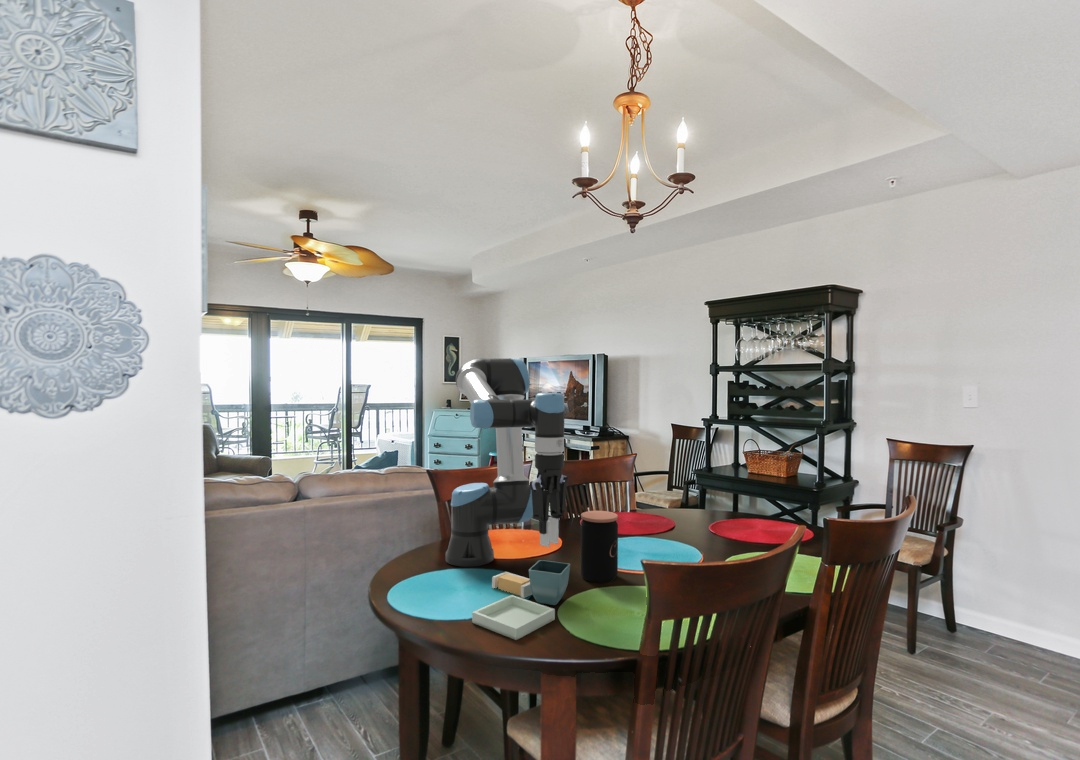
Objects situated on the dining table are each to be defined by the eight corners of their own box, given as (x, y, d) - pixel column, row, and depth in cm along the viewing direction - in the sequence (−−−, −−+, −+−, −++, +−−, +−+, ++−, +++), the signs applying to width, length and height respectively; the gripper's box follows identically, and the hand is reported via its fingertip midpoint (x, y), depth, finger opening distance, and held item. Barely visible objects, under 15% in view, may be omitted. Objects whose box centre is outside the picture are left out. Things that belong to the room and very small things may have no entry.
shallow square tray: (472, 622, 133) (472, 612, 133) (511, 604, 144) (511, 594, 144) (516, 640, 125) (516, 628, 125) (554, 619, 135) (554, 609, 135)
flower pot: (570, 597, 149) (571, 563, 149) (561, 610, 141) (561, 573, 141) (539, 592, 152) (539, 559, 152) (527, 605, 144) (528, 569, 144)
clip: (492, 587, 156) (492, 576, 156) (505, 582, 160) (505, 571, 160) (523, 598, 148) (523, 586, 148) (537, 592, 153) (537, 581, 153)
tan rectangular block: (498, 590, 155) (498, 577, 155) (506, 586, 157) (506, 573, 157) (521, 596, 150) (521, 583, 150) (529, 592, 153) (529, 579, 153)
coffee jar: (616, 585, 158) (616, 520, 158) (578, 582, 160) (578, 518, 160) (618, 572, 169) (619, 511, 169) (582, 569, 171) (583, 509, 171)
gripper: (541, 457, 138) (541, 554, 138) (579, 451, 150) (579, 540, 150) (518, 454, 143) (517, 548, 143) (556, 449, 155) (556, 535, 155)
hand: (549, 544), depth 146 cm, fingers open, 3 cm apart
